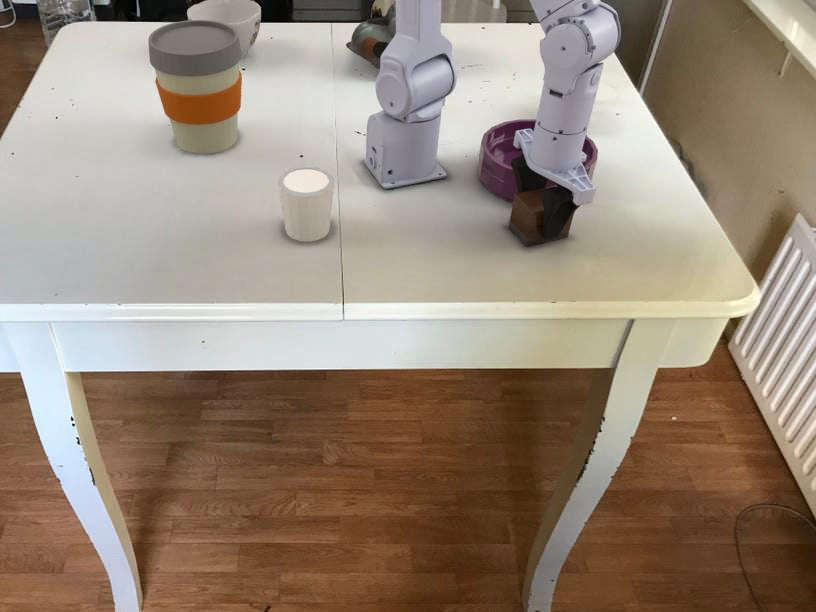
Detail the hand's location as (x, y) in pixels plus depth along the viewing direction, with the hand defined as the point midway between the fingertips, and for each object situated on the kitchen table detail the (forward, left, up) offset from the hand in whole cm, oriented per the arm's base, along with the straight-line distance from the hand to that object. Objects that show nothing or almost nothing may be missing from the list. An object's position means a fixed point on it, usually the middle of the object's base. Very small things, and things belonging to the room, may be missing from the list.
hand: (538, 224), depth 94 cm
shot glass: (-27, +11, -2) cm, 29 cm away
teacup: (-24, +65, -2) cm, 69 cm away
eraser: (0, 0, -1) cm, 1 cm away
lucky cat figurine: (+2, +54, -2) cm, 54 cm away
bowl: (+6, +12, -1) cm, 13 cm away
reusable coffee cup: (-34, +38, -2) cm, 51 cm away
